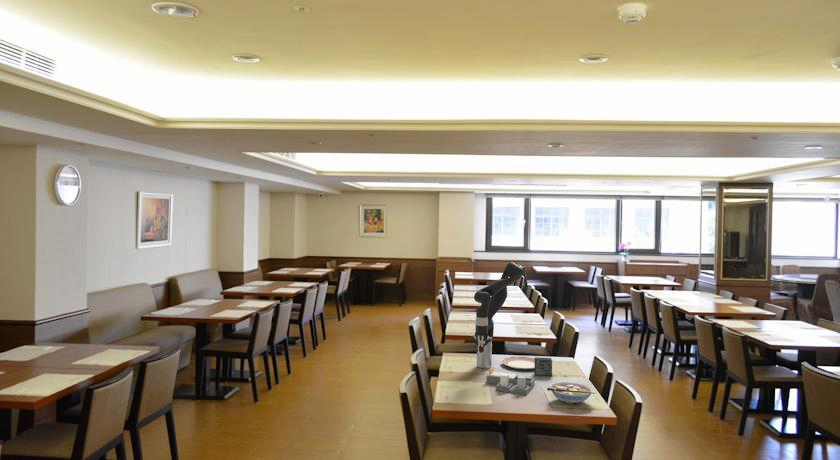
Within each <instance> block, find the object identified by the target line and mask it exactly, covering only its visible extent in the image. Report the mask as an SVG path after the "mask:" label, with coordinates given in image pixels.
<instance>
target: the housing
mask: <svg viewBox="0 0 840 460" xmlns="http://www.w3.org/2000/svg"><path fill="white" fill-rule="evenodd" d="M485 378H486V382H485V383H486V384H492V385H496V386H495V391H496V392H497V391H498V392H505V393H511V394H518V395H524V396H527V395H528V394H529V393H530V392H531V391H532V389H533V388H534V386H535V378H531V377H527V376H525V375H524V376H522V375H519V376H518V375H517V377H516V378H515V379H509V387H505V386H500V377H493V376H487V375H486V377H485Z"/></svg>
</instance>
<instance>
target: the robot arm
mask: <svg viewBox="0 0 840 460" xmlns="http://www.w3.org/2000/svg"><path fill="white" fill-rule="evenodd" d="M524 272H525V271H524V269H523V268H522V267H521V266H520V265H518V264H516V263H514V261H510V262H508V264H506V266H505V268H504V270H503V272H502V275H501V277H500V279H496V280H494V281H492V282H490V283H489V284H488V285H487V286H485V287H483V288H481V289H479V290H477V291H476V292H475V293H474V295H473V299H474V301H475V302H476V303H479V304H480V306H479V307H476V310H475V312H476V315H475V317H476V318H475V333H474V335H472V336H471V337H470V338H471V339H472V341H473V343H474V344H475V345H476V346H477V352H476V367H478V368H480V369H490V368H491V367H492V366H493V365H492V364H493V363H492V362H493V361H492V357H493V356H492V354H493V353H492V352H493V348H492V347H493V343H492V342H493V337H494V328H495V327H494V325H495V323H494V320H493V318H494V316H495V315H496V313H498V312H499V311H500V310H501V308H502V307H503V306H504V304H505V302H506V300H507V299H508V298H507V297H508V287H509V286H510V285H512V284H513V283H516V282H517V281H519V280H520V279H521V278H523V275H524V274H525V273H524Z"/></svg>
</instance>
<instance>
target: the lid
mask: <svg viewBox="0 0 840 460" xmlns="http://www.w3.org/2000/svg"><path fill="white" fill-rule="evenodd" d="M502 373H503V374H509V379H515V378H516V377H517V376H518V374H517V373H509V372H501V371H495V368H494V366H491V368H488V373H487V374H486V376H493V377H500V375H501V374H502Z"/></svg>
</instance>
